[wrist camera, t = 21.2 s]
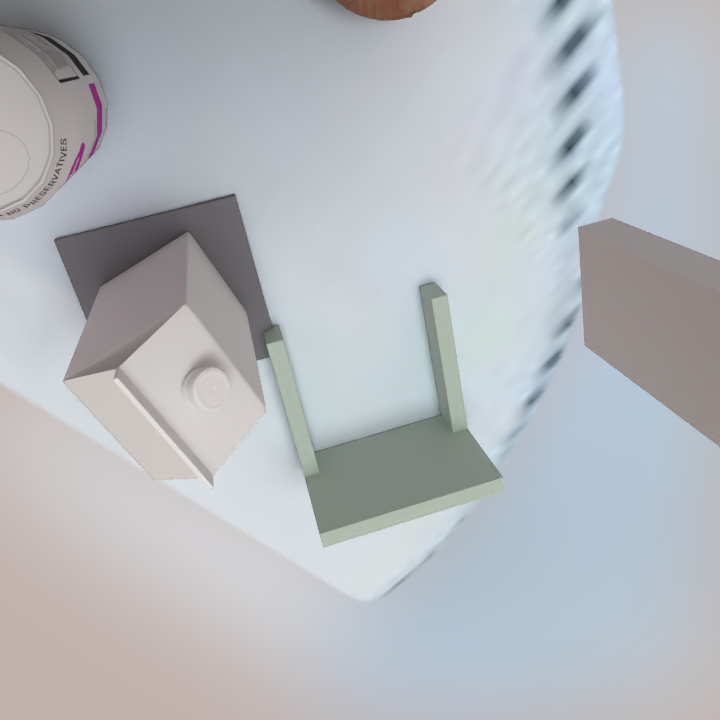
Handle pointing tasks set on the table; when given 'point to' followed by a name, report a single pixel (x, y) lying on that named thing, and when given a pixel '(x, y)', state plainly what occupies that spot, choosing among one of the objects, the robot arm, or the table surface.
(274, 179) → the table surface
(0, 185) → the supplement can
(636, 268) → the robot arm
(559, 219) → the table surface
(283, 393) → the rack
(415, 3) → the onion
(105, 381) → the milk carton
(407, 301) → the table surface
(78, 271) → the mat
